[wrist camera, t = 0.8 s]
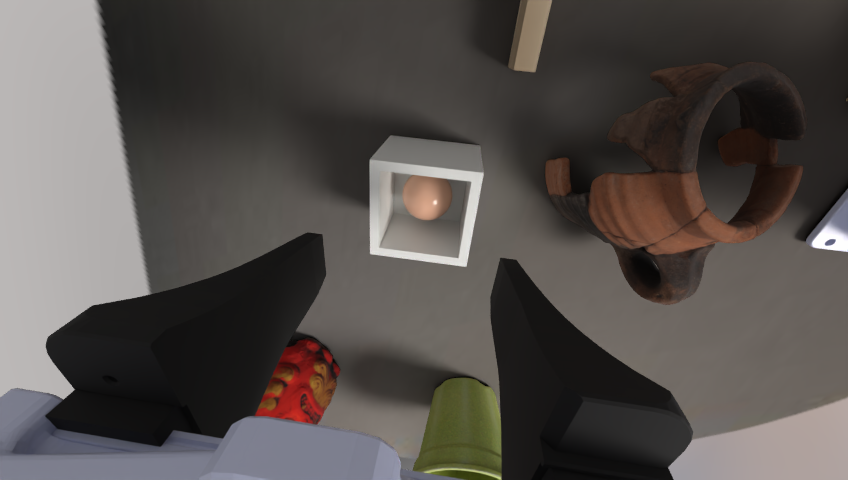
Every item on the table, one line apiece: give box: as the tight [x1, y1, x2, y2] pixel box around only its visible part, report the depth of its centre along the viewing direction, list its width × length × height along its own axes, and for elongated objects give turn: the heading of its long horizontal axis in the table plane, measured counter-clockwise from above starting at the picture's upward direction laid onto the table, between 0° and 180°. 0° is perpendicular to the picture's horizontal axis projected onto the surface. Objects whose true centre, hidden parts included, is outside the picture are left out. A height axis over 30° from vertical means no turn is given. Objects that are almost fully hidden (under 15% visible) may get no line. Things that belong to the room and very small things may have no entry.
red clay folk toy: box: [255, 337, 340, 425], centre depth 26 cm, size 8×7×15 cm
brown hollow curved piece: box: [545, 62, 807, 305], centre depth 17 cm, size 12×10×8 cm
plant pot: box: [413, 378, 501, 480], centre depth 29 cm, size 9×9×9 cm
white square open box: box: [370, 135, 484, 267], centre depth 19 cm, size 6×6×5 cm
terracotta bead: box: [402, 175, 453, 220], centre depth 19 cm, size 3×3×3 cm
